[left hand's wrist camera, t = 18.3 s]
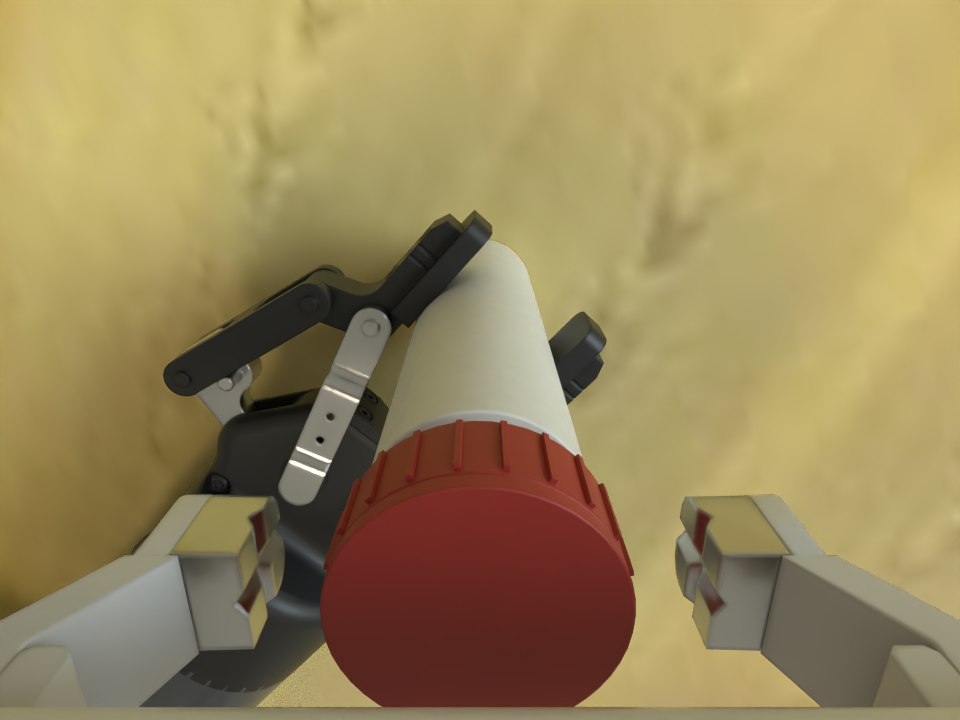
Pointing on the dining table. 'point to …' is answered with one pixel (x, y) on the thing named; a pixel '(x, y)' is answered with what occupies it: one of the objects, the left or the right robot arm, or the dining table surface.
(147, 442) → the dining table surface
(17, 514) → the dining table surface
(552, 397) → the white bottle
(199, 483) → the right robot arm
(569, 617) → the lid
